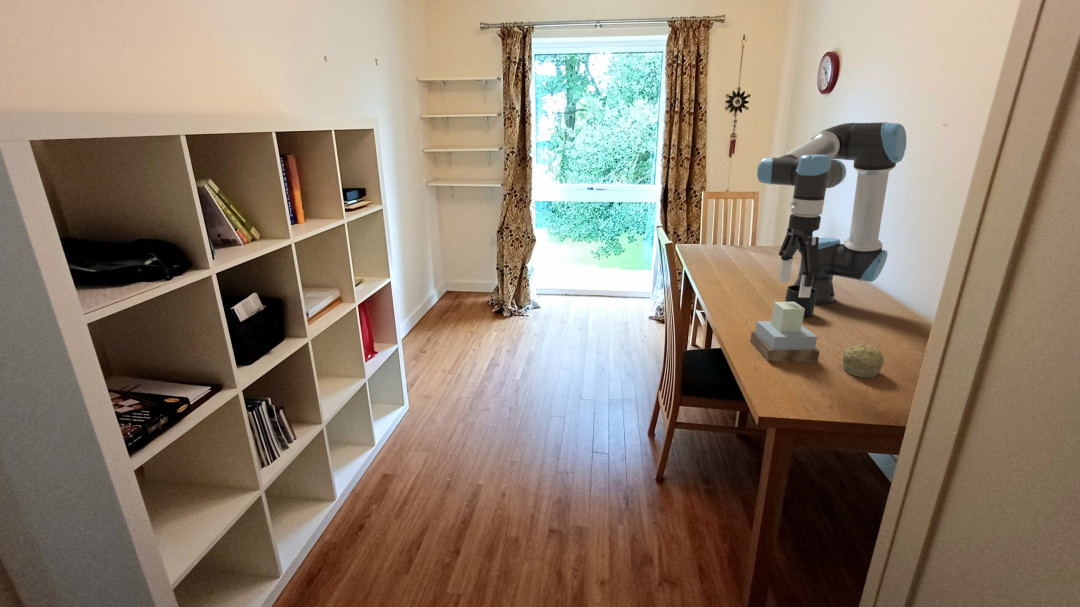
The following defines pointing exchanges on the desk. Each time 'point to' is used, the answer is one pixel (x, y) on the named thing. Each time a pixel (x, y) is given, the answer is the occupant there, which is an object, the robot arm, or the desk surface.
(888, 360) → the desk surface
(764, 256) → the desk surface
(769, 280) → the desk surface
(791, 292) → the mug
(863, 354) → the decorative item
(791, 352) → the bottom slab
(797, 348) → the top slab
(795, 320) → the block
